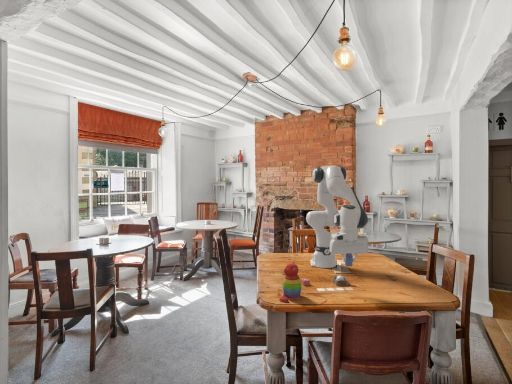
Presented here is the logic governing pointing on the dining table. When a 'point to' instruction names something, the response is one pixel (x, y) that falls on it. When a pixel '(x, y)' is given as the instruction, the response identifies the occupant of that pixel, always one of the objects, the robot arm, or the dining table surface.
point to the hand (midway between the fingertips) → (348, 261)
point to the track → (333, 289)
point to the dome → (339, 278)
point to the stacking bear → (291, 283)
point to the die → (305, 282)
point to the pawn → (348, 259)
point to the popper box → (340, 281)
